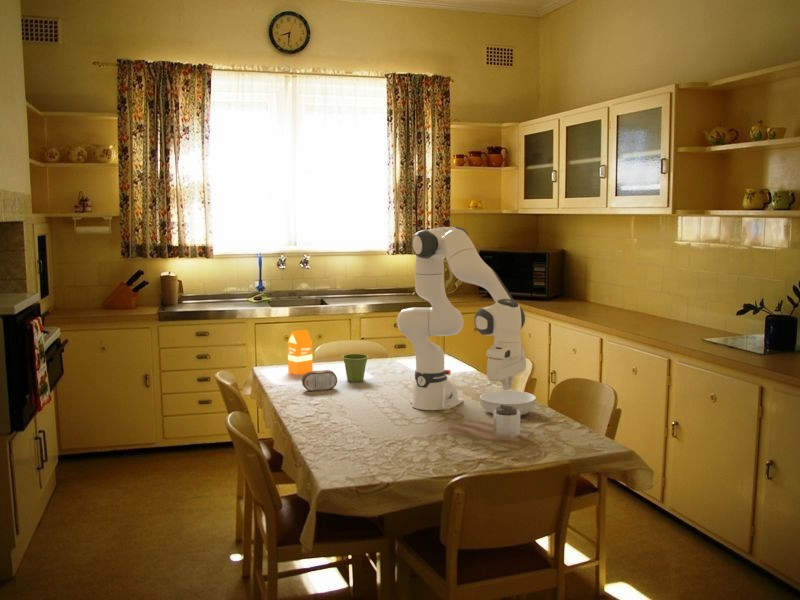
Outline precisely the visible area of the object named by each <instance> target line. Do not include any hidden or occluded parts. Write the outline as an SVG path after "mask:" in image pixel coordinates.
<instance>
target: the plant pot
mask: <svg viewBox="0 0 800 600" xmlns="http://www.w3.org/2000/svg"><path fill="white" fill-rule="evenodd" d="M341 357H342V359H343V363H344V367H345V374H346V379H347V381H348V382H350V381H351V382H350V383H359V382H363V381H364V380H365V373H366V372H365V371H366V366H367V363H368V362H367V361H368V358H369V355H367V354H365V353H350V354H349V353H348V354H344V355H342V356H341Z"/></svg>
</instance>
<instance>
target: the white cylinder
mask: <svg viewBox="0 0 800 600" xmlns="http://www.w3.org/2000/svg"><path fill="white" fill-rule="evenodd" d="M492 424H493V436H495V437H496V438H501V439H515V438H518V437H520V430H521V415H520V411H519V410H517V413H515V414H510V415H505V414H499V413H497V412H496V409H495V410H493V414H492Z"/></svg>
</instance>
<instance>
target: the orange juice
mask: <svg viewBox="0 0 800 600" xmlns="http://www.w3.org/2000/svg"><path fill="white" fill-rule="evenodd" d="M287 362H288V363H287V365H288V366H287V367H288V369H287V370H288V373H289V372H290V373H289V374H293V373H294V375H297V374H299V375H304V374H306V373H307V372H310V371H314V370H313V342H312V339H311V336H310V333H309V331H308V329H301V330H295V331H291V334H290V336H289V339H288V340H287ZM303 373H304V374H303Z"/></svg>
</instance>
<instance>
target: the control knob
mask: <svg viewBox="0 0 800 600" xmlns="http://www.w3.org/2000/svg"><path fill="white" fill-rule="evenodd" d="M496 412H497V413H499V414H505V415H510V414H515V413H517V408H515V407H513V406H510V405H504V404H501V405H500V407H497V408H496Z"/></svg>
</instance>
